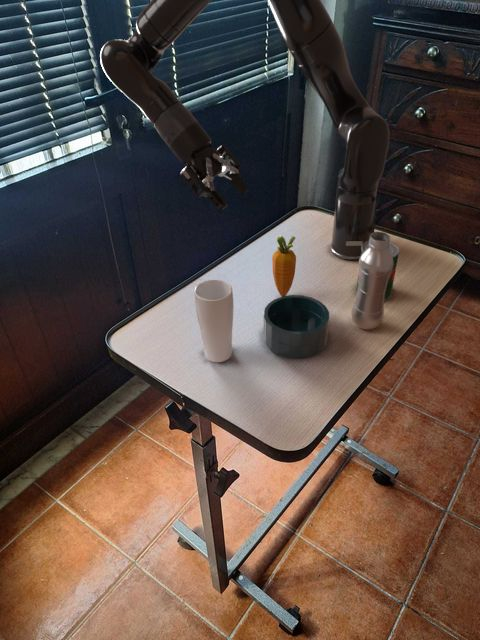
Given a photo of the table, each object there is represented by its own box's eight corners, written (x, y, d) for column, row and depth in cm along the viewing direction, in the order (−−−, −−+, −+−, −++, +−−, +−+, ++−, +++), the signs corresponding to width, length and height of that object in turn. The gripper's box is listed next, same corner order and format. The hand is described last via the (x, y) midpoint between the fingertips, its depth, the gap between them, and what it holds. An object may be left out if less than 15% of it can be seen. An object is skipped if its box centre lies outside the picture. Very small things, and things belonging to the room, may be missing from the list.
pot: (302, 311, 110) (304, 288, 106) (339, 344, 102) (342, 319, 98) (252, 331, 105) (251, 307, 101) (286, 366, 97) (287, 342, 93)
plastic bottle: (371, 311, 110) (385, 225, 97) (388, 329, 105) (405, 241, 92) (344, 317, 108) (355, 231, 95) (360, 336, 103) (374, 248, 90)
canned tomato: (398, 296, 114) (407, 252, 107) (369, 305, 111) (376, 261, 104) (376, 278, 120) (384, 236, 112) (348, 287, 117) (354, 244, 110)
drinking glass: (204, 369, 96) (197, 303, 87) (197, 346, 101) (190, 282, 92) (239, 362, 98) (237, 297, 88) (231, 340, 103) (227, 276, 93)
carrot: (295, 291, 116) (297, 230, 106) (293, 304, 112) (296, 242, 102) (272, 290, 116) (273, 229, 106) (270, 302, 112) (271, 241, 103)
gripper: (170, 132, 95) (227, 204, 98) (212, 111, 104) (263, 177, 107) (151, 156, 100) (206, 223, 103) (193, 134, 109) (242, 196, 113)
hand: (235, 200), depth 105 cm, fingers open, 8 cm apart
